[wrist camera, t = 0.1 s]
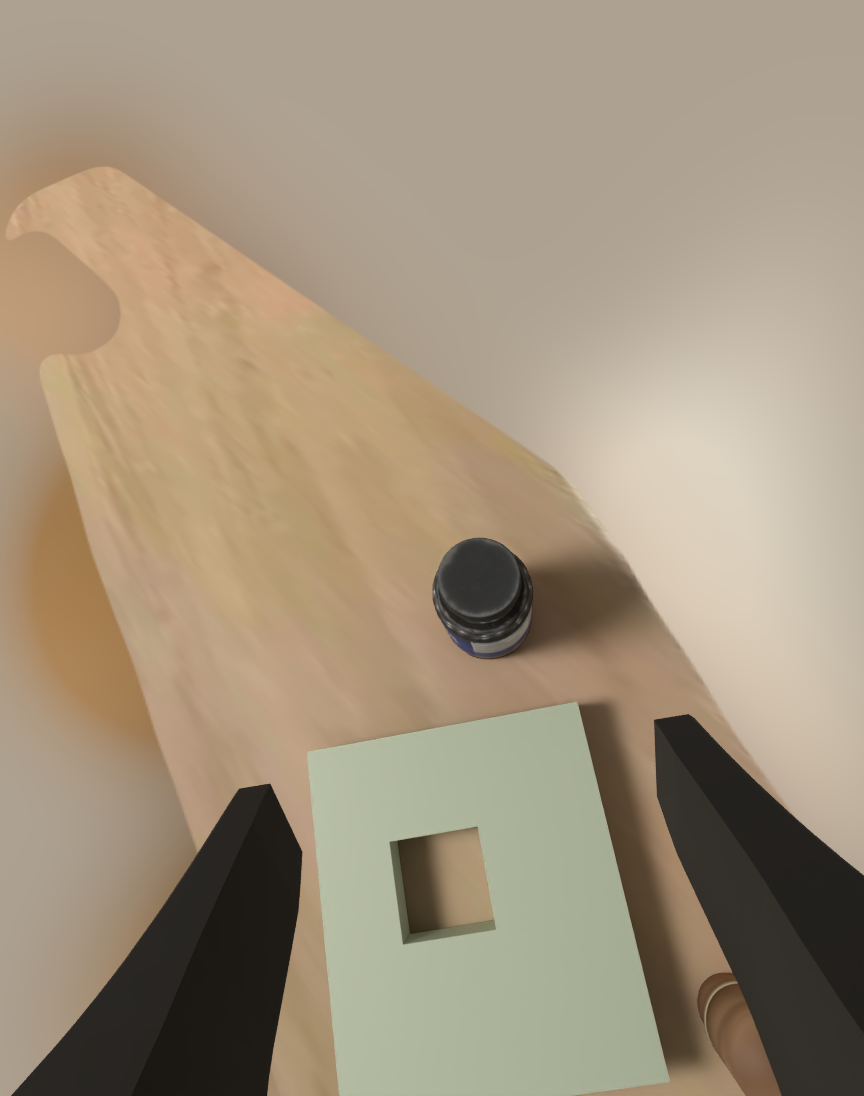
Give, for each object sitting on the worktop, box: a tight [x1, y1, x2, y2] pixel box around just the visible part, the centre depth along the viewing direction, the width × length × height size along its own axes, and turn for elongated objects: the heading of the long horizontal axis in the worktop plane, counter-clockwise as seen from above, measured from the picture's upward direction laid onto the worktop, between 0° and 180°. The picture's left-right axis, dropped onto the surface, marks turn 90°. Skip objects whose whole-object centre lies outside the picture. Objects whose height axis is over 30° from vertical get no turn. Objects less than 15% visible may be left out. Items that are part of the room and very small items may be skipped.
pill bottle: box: [432, 538, 533, 659], centre depth 40 cm, size 6×6×11 cm
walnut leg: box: [698, 973, 782, 1096], centre depth 32 cm, size 4×4×8 cm
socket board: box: [307, 702, 670, 1096], centre depth 38 cm, size 20×18×2 cm
